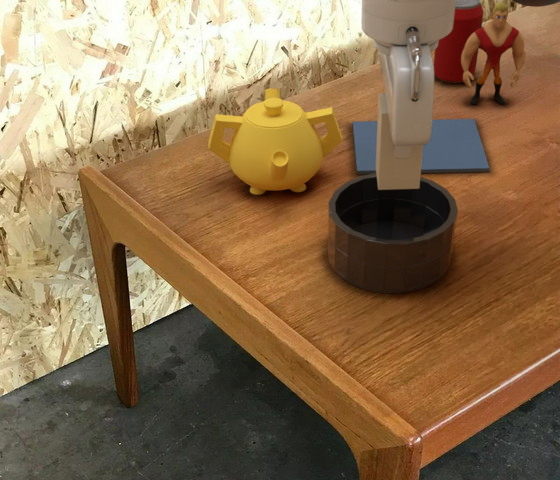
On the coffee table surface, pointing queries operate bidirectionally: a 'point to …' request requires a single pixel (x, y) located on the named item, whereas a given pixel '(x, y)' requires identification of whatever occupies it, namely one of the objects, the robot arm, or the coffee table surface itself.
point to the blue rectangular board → (429, 147)
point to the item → (387, 166)
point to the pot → (390, 234)
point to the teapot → (275, 143)
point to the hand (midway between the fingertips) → (399, 141)
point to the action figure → (494, 51)
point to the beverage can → (458, 42)
